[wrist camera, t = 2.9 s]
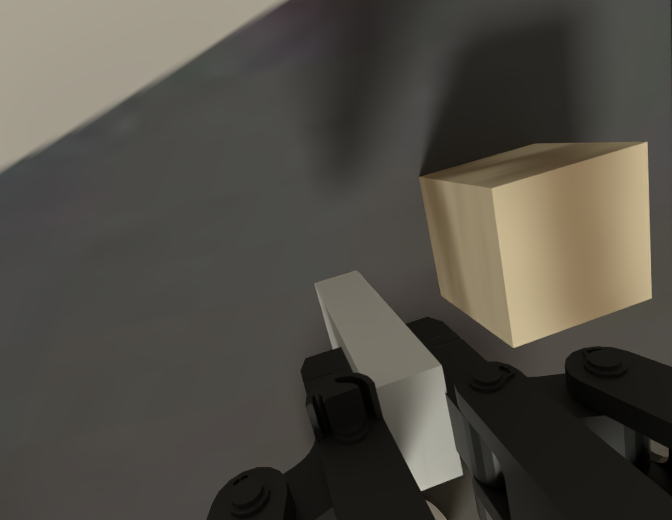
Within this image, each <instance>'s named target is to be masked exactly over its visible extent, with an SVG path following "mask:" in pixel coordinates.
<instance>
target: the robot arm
mask: <svg viewBox="0 0 672 520" xmlns="http://www.w3.org/2000/svg"><path fill="white" fill-rule="evenodd" d="M314 284H315V288H316V291H317V295H318V299H319V302H320V306H321V309H322V313H323V316H324V320H325V323H326V327H327V331H328V334H329V338H330V341H331V345H332V348H333V350H330V351H327V352H324V353H321V354H318V355H315V356H312V357H309V358H306V359H305V361H304V364H303V366H302V369H301V374H302V378H303V382H304V386H305V390H306V394H307V397H306V409H307V412H308V415H309V418H310V421H311V425H312V428H313V431H314V434H315V437H316V439H315V443H314V446H313V447H312V449H311V451H310V453H309V454H308V455H307V456H306V457H305V458H304V459H303V460H302V461H301V462H300V463H299V464H297V465H296V466H295V467H293V468H292V469H290V470H289V471H287V472H286V473H284V474H282V473H281V472H280V471H278V470H276V469H273V468H271V467H257V468H254V469H251V470H248V471H244V472H242V473H241V474H239V475H237V476H236V477H234V478H233V479H231V480H230V481H229V482H228V483H227V484H226V485H225V486H224V487H223V488H222V489H221V490H220V491H219V492H218V494H217V496H216V498H215V500H214V501H213V503H212V505H211V508H210V511H209V514H208V517H207V520H436V519H435V517H434V515H433V513H432V512H431V510H430V508H429V506H428V504H427V502H426V500H425V498H424V496H423V494H422V492H421V491H423V490H425V489H428V488H430V487H433V486H436V485H438V484H441V483H443V482H446V481H449V480H451V479H454V478H456V477H459V476H462V475H463V472H462V467H461V461H460V456H461V458H462V459H463V461H464V462H465V464H466V465H467V466H468V468H469V469H470V472H471V478H472V483H473V488H474V494H475V499H476V504H477V510H478V514H479V517H480V519H481V520H487V519H486V513H485V508H486V510H487V511H488V513H489V514H490V516H491V517H492V519H493V520H672V367H670V366H667V365H665V364H662V363H659V362H656V361H654V360H651V359H648V358H645V357H642V356H640V355H637V354H634V353H631V352H629V351H625V350H621V349H617V348H613V347H600V346H597V347H589V348H583V349H580V350H578V351H575V352H573V353H571V354H570V355H569V356H568V357H567V358H566V362H565V374H557V375H548V376H540V377H526V376H525V375H524V374H523V373H522V372H520V371H519V370H518V369H516V368H514V367H512V366H511V365H509V364H504V363H500V362H487V361H486V360H485V359H484V358H483V357H481V356H480V355H479V354H478V353H477V352H476V351H475V350H474V349H473V348H471V347H470V346H469V345H468V344H467V343H466V342H465V341H464V340H461V339H460V337H459V336H458V335H457V334H456V333H455V332H453V331H452V330H451V329H450V328H449V327H448V326H447V325H446V324H445V323H443V322H442V321H439V320H436V319H433V318H430V317H425V318H422V319H419V320H416V321H413V322H410V323H407V324H404V322H403V321H402V320H401V319H400V318H399V317H398V316H397V315H396V314H395V312H394V311H393V310H392V309H391V308H390V307H389V306H388V305H387V303H386V302H385V301H384V300H383V299H382V298H381V297H380V296H379V295H378V293H377V292H376V291H375V290H374V289H373V288H372V287H371V286H370V284H369V283H368V282H367V281H366V280H365V279H364V278H363V277H362V276H361V274H360V273H359V272H358V271H357V270H356V271H353V272H350V273H346V274H343V275H340V276H337V277H333V278H330V279H327V280H324V281H320V282H317V283H314ZM650 439H652V440H654V441H656V442H658V443H660V444H662V445H664V446H666V447H667V448H669V457H663V456H660V455H658V454H655V453H654V452H652V451H651V450H650ZM459 455H460V456H459ZM484 507H485V508H484Z"/></svg>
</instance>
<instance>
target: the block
mask: <svg viewBox="0 0 672 520" xmlns="http://www.w3.org/2000/svg"><path fill="white" fill-rule="evenodd" d="M419 180H420V185H421V190H422V196H423V201H424V206H425V212H426V217H427V223H428V228H429V233H430V239H431V244H432V249H433V255H434V260H435V265H436V271H437V276H438V281H439V287H440V292H441V296H442V297H444V298H445V299H446V300H448V301H449V302H451V303H452V304H453V305H455V306H456V307H457V308H459V309H460V310H462V311H463V312H464V313H466V314H467V315H469V316H470V317H471V318H473V319H474V320H475V321H477V322H478V323H480V324H481V325H482V326H484V327H485V328H486V329H488V330H489V331H491V332H492V333H493V334H495V335H496V336H498V337H499V338H500V339H502V340H503V341H504V342H506V343H507V344H509V345H510V346H511V347H513V348H515V347H518V346H521V345H523V344H526V343H529V342H532V341H534V340H537V339H540V338H543V337H546V336H548V335H551V334H554V333H557V332H559V331H562V330H565V329H568V328H570V327H573V326H576V325H579V324H582V323H584V322H587V321H590V320H593V319H595V318H598V317H601V316H604V315H607V314H609V313H612V312H615V311H618V310H620V309H623V308H626V307H629V306H632V305H634V304H637V303H640V302H643V301H645V300H648V299H651V298H652V293H651V256H650V219H649V183H648V146H647V142H601V143H535V144H532V145H528V146H525V147H521V148H518V149H514V150H511V151H507V152H504V153H500V154H497V155H493V156H490V157H487V158H483V159H480V160H476V161H473V162H469V163H466V164H462V165H459V166H455V167H452V168H448V169H445V170H441V171H438V172H434V173H431V174H427V175H424V176H420V177H419Z"/></svg>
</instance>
